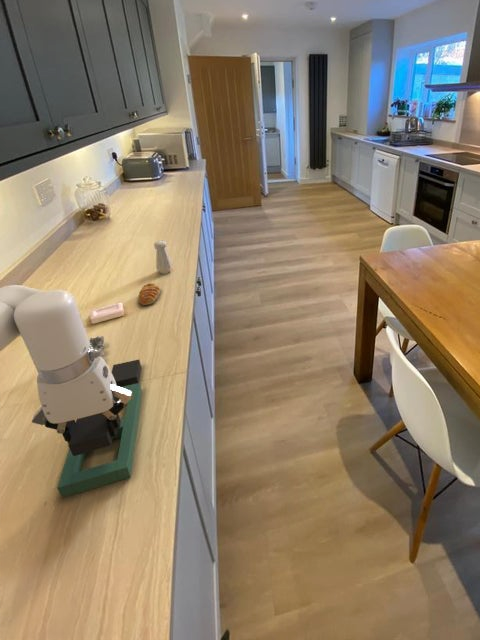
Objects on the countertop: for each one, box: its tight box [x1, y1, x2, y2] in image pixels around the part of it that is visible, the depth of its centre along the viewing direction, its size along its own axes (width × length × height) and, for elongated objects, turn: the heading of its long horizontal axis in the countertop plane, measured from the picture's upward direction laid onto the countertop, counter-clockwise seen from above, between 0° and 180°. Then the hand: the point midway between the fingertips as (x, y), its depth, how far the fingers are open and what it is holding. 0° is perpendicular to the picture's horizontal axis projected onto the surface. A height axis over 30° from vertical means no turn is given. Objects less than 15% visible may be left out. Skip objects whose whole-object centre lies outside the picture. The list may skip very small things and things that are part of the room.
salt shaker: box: [153, 240, 173, 275], centre depth 127 cm, size 6×6×13 cm
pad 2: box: [111, 359, 142, 387], centre depth 80 cm, size 6×6×3 cm
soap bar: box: [89, 302, 125, 325], centre depth 103 cm, size 5×9×2 cm, turn 120°
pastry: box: [138, 282, 161, 306], centre depth 112 cm, size 9×7×4 cm
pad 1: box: [67, 413, 113, 456], centre depth 60 cm, size 6×6×3 cm
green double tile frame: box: [56, 382, 143, 499], centre depth 66 cm, size 11×20×3 cm, turn 18°
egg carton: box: [89, 335, 105, 357], centre depth 86 cm, size 11×8×4 cm
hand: (95, 433), depth 60 cm, fingers closed on pad 1, 6 cm apart
